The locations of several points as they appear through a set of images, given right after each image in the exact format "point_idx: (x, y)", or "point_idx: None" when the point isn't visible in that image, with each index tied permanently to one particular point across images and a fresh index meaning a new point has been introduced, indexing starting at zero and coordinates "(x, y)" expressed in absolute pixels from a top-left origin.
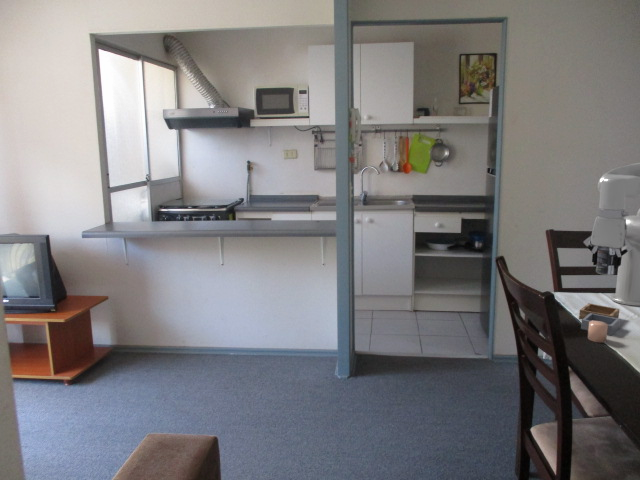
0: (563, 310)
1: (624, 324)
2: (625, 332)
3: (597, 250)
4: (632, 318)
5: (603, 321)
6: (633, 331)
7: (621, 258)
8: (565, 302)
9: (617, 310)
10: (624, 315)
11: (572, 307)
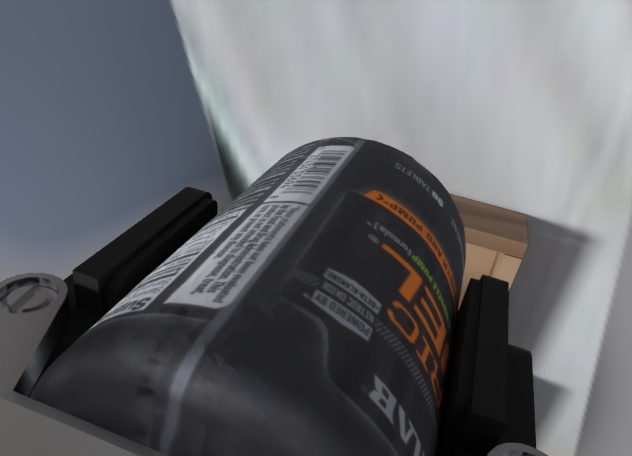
0: (230, 189)
1: (549, 310)
2: (538, 415)
3: (55, 344)
4: (624, 183)
5: None
6: (582, 396)
7: (535, 434)
8: (197, 12)
9: (511, 280)
10: (576, 136)
11: (257, 108)
